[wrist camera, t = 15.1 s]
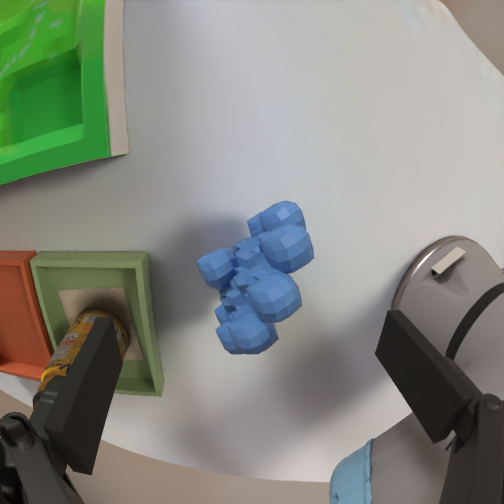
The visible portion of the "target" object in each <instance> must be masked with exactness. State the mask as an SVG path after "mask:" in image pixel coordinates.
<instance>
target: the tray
mask: <svg viewBox="0 0 504 504" xmlns="http://www.w3.org/2000/svg"><path fill="white" fill-rule="evenodd" d="M123 22H124V0H0V185H3V184H6V183H9V182H12V181H16V180H19V179H22V178H26V177H29V176H33V175H36V174H40V173H44V172H47V171H51V170H55V169H59V168H63V167H67V166H71V165H75V164H80V163H84V162H89V161H93V160H98V159H103V158H108V157H113V156H118V155H123V154H129V153H130V151H129V141H128V131H127V119H126V105H125V88H124V59H123Z"/></svg>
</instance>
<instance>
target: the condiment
mask: <svg viewBox="0 0 504 504" xmlns="http://www.w3.org/2000/svg"><path fill="white" fill-rule="evenodd" d="M58 293H59V296H60V300H61V302H62V305H63V309H64V311H65V314H66V317H67V319H68V322H69V325H70V329H69V330H68V332H67V334H66V335H65V337H64V339H63V340H62V342H61V343H60V345H59V346H58V348H57V350H56V351H55V353H54V354H53V356H52V357H51V359H50V361H49V362H48V364H47V366H46V368H45V369H44V371H43V373H42V376H41V384H40V386H39V388H38V392H37V394H36V395H34V398H33V409H35V407H36V405H37V402H38V401H39V398H40V397H41V395H42V393H43V391H44V389H45V387H46V385H47V383H48V382H49V381H50V380H51V379H52V378H53V377H54V376H55V375H62V376H66V375H67V373H68V371H69V369H70V367H71V365H72V363H73V361H74V359H75V358H76V356H77V354H78V352H79V350H80V348H81V346H82V344H83V342H84V341H85V339H86V337H87V335H88V333H89V331H90V330H91V328H92V326H93V324H94V322H95V321H96V319H97V317H111V318H113V322H114V327H115V331H116V336H117V340H118V345H119V349H120V353H121V357H122V361H123V360H144V359H143V356H142V353H141V349H140V346H139V343H138V339H137V336H136V333H135V329H134V326H133V323H132V320H131V316H130V312H129V308H128V305H127V301H126V299H125V294H124V290H123V287H116V288H115V287H109V288H89V289H84V288H83V289H75V290H58Z"/></svg>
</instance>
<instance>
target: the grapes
mask: <svg viewBox="0 0 504 504" xmlns="http://www.w3.org/2000/svg"><path fill="white" fill-rule="evenodd" d="M247 223H248V227H249V230H250V233H251V237H249V238H245V239H244V240H242V241H240V242H239V243H237V244H236V245H234V246H233V249H234V252H235V253H234V252H233V251H232V250H230V249H227V248H221V249H217V250H214V251H211V252H210V253H208V254H206V255H205V256H203V257H202V258H200V259H199V260H198V261H197V264H198V267H199V270H200V272H201V274H202V276H203V278H204V280H205V282H206V284H207V285H209V286H211V287H212V288H214V289H216V290H219V289H220V290H219V292H220V295H221V297H222V298H220V300H221V302H222V305H220V306H219V307H218V308H216V309H215V310H214V311H215V314H216V316H217V318H218V320H219V322H220V324H221V326H219V327H218V328H217V329H215V330H216V332H217V335H218V337H219V339H220V341H221V343H222V345H223V346H224V348H225V350H227V351H228V352H229V353H231V354H259V353H261V352H263V351H265V350H267V349H268V348H269V347H270V346H271V345H273V344H274V343H275V342H276V341H277V340H278V335H277V332H276V328H275V325H274V322H281V321H283V320H284V319H286V318H288V317H290V316H291V315H292V314H293V313H294V312H296V311H297V310H298V309H299V308H300V307H301V306H302V300H301V296H300V292H299V289H298V286H297V285H296V283H295V282H294V281H293V279H292V278H291V276H290V275H288V274H289V273H293V272H295V271H296V270H298V269H300V268H301V267H303V266H305V265H306V264H308V263H309V262H310V261H311V260H312V259H314V253H313V247H312V243H311V240H310V237H309V234H308V233H307V231H306V224H305V221H304V217H303V214H302V211H301V209H300V208H299V206H298V205H297V204H296V203H294V202H289V201H283V202H280V203H277V204H274V205H272V206H271V207H269V208H268V209H266V210H264V211H263V212H260V213H259V214H257V215H255V216H254V217H252V218H251V219H249V220H248V221H247Z"/></svg>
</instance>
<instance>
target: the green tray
mask: <svg viewBox="0 0 504 504" xmlns="http://www.w3.org/2000/svg"><path fill="white" fill-rule="evenodd" d="M30 264H31V269H32V274H33V278H34V283H35V287H36V291H37V295H38V299H39V303H40V306H41V310H42V313H43V317H44V320H45V324H46V327H47V330H48V333H49V336H50V339H51V342H52V345H53V348H54V351H56V350H57V348H58V346H59V345H60V343H61V342H62V340H63V339H64V337H65V335H66V334H67V332H68V330H69V329H70V325H69V322H68V319H67V317H66V314H65V311H64V309H63V305H62V302H61V300H60V296H59V293H58V290H75V289H83V288H84V289H89V288H109V287H115V288H116V287H123V290H124V294H125V299H126V301H127V305H128V308H129V312H130V316H131V320H132V323H133V326H134V329H135V333H136V336H137V339H138V343H139V346H140V349H141V353H142V356H143V359H144V360H123V366H122V369H121V372H120V375H119V378H118V381H117V385H116V388H115V391H114V393H121V394H132V395H144V396H159V397H162V392H163V386H164V377H163V371H162V365H161V359H160V353H159V346H158V340H157V333H156V325H155V318H154V310H153V301H152V292H151V283H150V272H149V261H148V251H41V252H40V253H39V254H37V255H36V256H35V257H33V258H32V259H31V260H30Z"/></svg>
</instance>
